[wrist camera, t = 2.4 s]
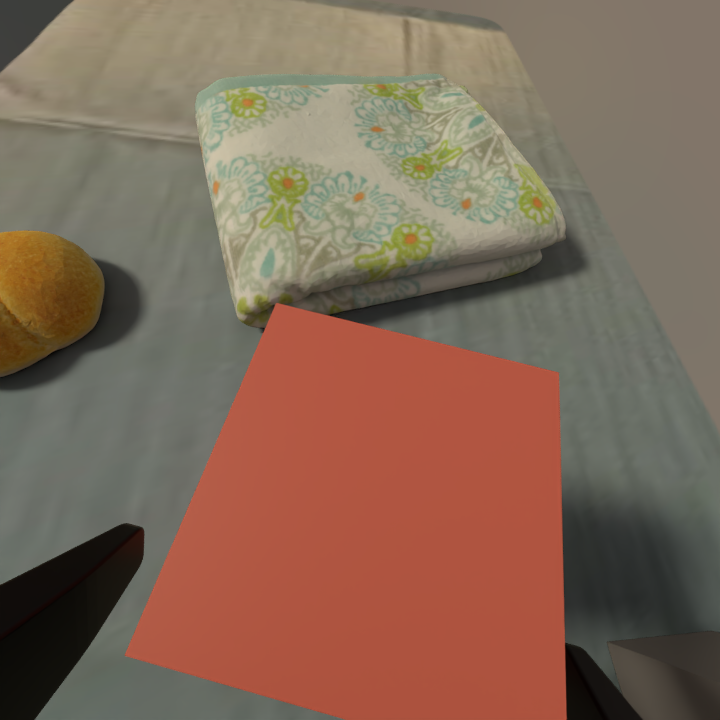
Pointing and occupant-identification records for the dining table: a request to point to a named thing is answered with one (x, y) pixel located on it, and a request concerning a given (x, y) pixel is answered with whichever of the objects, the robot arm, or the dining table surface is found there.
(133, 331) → the dining table surface
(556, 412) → the red block
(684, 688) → the gray block
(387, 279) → the towel
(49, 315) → the bread roll
